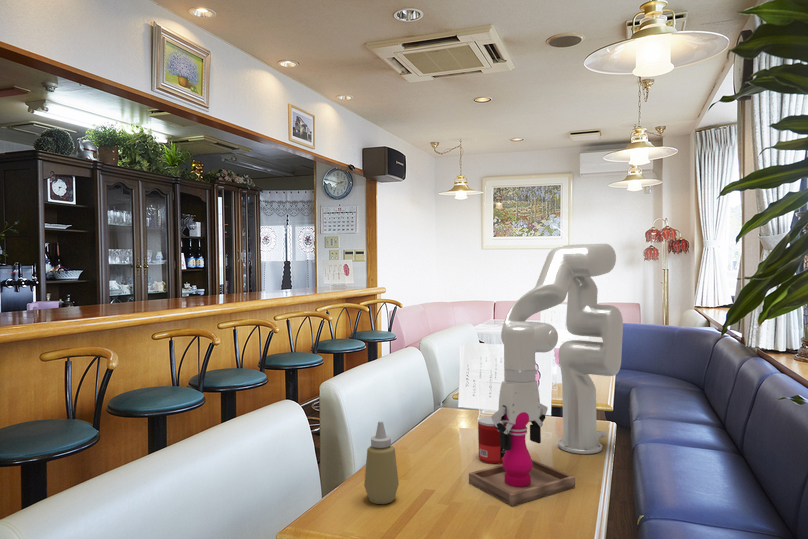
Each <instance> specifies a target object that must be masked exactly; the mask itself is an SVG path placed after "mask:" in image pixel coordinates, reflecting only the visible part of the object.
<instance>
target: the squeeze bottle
mask: <svg viewBox="0 0 808 539" xmlns="http://www.w3.org/2000/svg"><path fill="white" fill-rule="evenodd" d="M375 432H376V433H375V435H374V436H372V437H371V438H370V446H368V448H367V449H366V461H365V463H366V464H365V474H364V484H363V486H364V489H365V492H366V494H367V498H368V501H369V502H371V503H372V504H376V505H386V504H390V503H391V502H393V501H395V498H396V494H397V491H398V489H399V484H400V483H399V474H398V466H397V457H396V448H395V447H394V446H393V445H392V442H391V440H392V438H391V436H390V435H387V434H386V429H385V424H384V422H383V421H378V422H377V426H376V430H375Z"/></svg>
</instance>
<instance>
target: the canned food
mask: <svg viewBox="0 0 808 539" xmlns="http://www.w3.org/2000/svg"><path fill="white" fill-rule="evenodd" d="M500 423H501V421H500ZM506 425H507V424H506ZM506 425H505V427H506ZM477 433H478V434H477V437H478V438H477V440H478V445H477V446H478V458H479V460H480V461H481V462H483V463H485V462H486V463H485V464H490V463H494V464H493V465H496V464H495V463H500V464H502V462H503V457H504V454H505V452H506V450H505V449H503V448H501V447H500V432H499V431H498V429H497V428H496V427H495V426H494V423H493V421H492V419H491V416H484V417H482V416H481V417H480V418H478V422H477Z"/></svg>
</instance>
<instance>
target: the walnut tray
mask: <svg viewBox="0 0 808 539" xmlns="http://www.w3.org/2000/svg"><path fill="white" fill-rule="evenodd" d="M532 465H533V467H532V470H531V471H530V472H529V473H528V474H530V476H531V483H530V485H528V486H525V487H514V486H510V485H508V484H506V483H505V473H506V471H505V470H504V468H503V465H502V464H500V465H499V464H498V465H496V466H491V467H487V468H483V469H480V470H476V471H472V472H468V484H469V485H471V486H473V487H474V488H477V489H479V490H480V491H483V492H485V493H486V494H488V495H490V496H492V497H494V498H495V499H497V498H498V500H500V501H501V502H503V503H505V504H507V505H509V506H511V507H515V506H518V505H522V504H524V503H525V502H526V503H528V501H529V502H532V501H535V500H539V499H541V498H545V497H548V495H549V496H552V495H554V494H559V493H561V492H565V491H568V490H572V489H574V487H575V488H576V477H575V476H573V475H571V474H569V473H565V472H563V471H562V470H558V469H556V468H553V467H551V466H549V465H546V464H544V463H541V462H539V461H537V460H534V459H532ZM571 488H572V489H571ZM526 503H525V504H526Z"/></svg>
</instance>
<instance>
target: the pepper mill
mask: <svg viewBox="0 0 808 539" xmlns="http://www.w3.org/2000/svg"><path fill="white" fill-rule="evenodd" d="M504 416H505V419H506V420H509V419H508V417H507V413H506V414H505V415H504ZM529 423H530V422H529V415H528V414H527V413H526V412H522V413H520V414H519V415H518V416H517V418H516V421H515V424H514V425H513V426H512V427H511V429H510V431H509V434H511V450H509V451H508V450H506V452H505V454H504V457H503V463H501V465H503V468H504V470H505V471H506V473H505V483H506V484H508V485H510V486H514V487H525V486H528V485H530V483H531V476H530V474H528V473H529V472H530V471H531V470H532V467H533V465H532V460H533V459H532V456H531V454H530V452H529V449H528V447H527V443H526V435H527V434H528V426H527V425H528V424H529Z"/></svg>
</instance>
